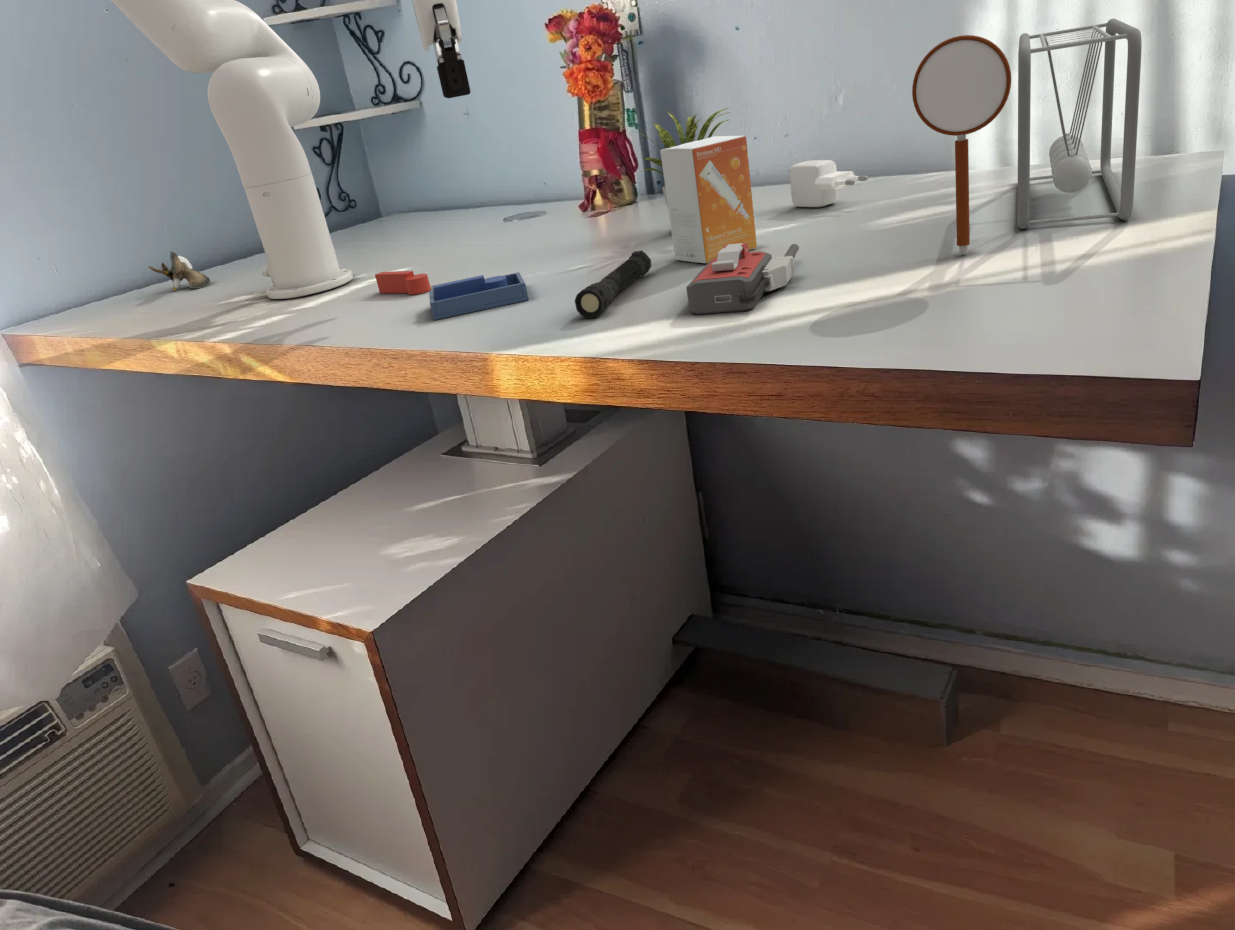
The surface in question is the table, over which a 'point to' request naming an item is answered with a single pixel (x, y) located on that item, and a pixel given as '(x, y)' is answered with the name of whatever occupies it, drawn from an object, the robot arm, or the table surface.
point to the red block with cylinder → (402, 282)
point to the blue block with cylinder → (468, 286)
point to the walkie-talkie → (738, 279)
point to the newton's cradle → (1068, 149)
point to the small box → (709, 196)
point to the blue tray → (480, 299)
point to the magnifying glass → (961, 102)
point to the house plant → (682, 137)
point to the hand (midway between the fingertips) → (457, 96)
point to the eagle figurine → (182, 272)
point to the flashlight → (611, 285)
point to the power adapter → (818, 182)
